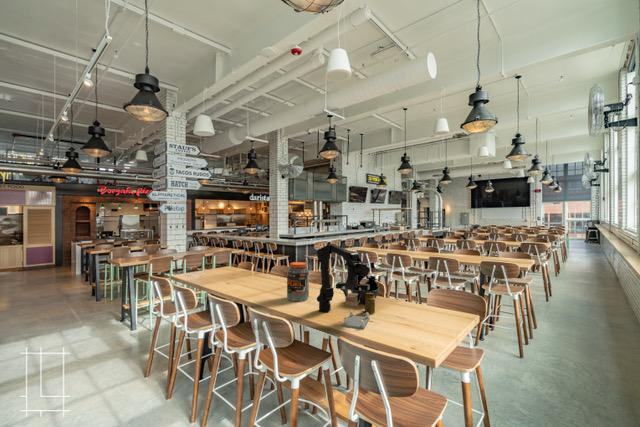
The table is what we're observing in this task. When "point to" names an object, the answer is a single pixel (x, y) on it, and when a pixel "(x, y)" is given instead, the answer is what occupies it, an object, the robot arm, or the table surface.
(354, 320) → the chassis
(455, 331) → the table surface
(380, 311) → the table surface
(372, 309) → the condiment
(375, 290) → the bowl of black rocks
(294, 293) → the supplement tub
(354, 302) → the block
